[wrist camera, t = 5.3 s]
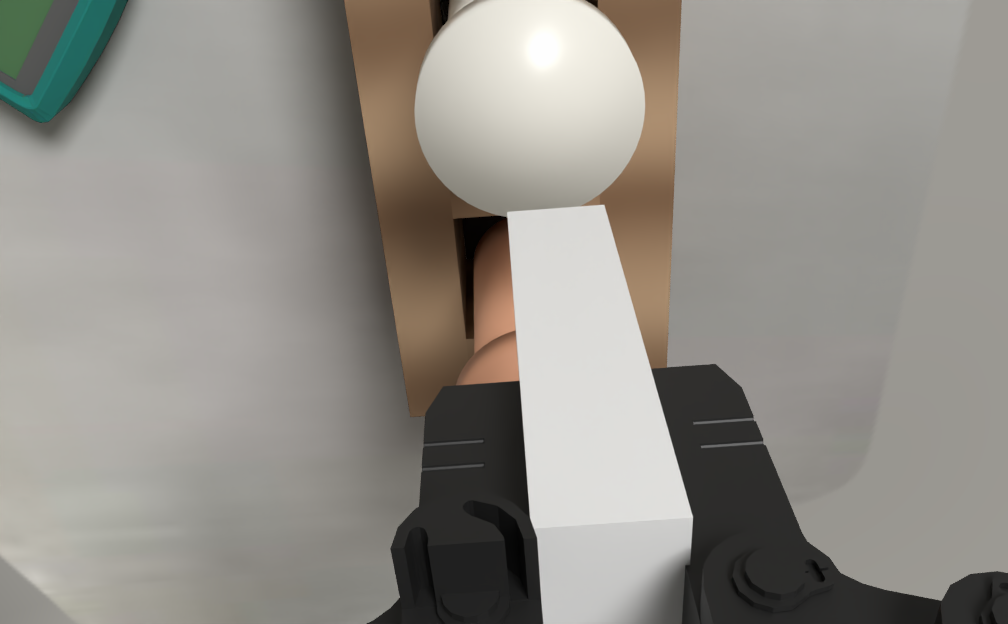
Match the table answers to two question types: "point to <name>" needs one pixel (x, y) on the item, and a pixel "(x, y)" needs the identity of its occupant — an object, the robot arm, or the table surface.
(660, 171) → the board
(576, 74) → the plug mid
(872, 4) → the table surface
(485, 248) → the plug terracotta
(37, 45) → the digital multimeter
